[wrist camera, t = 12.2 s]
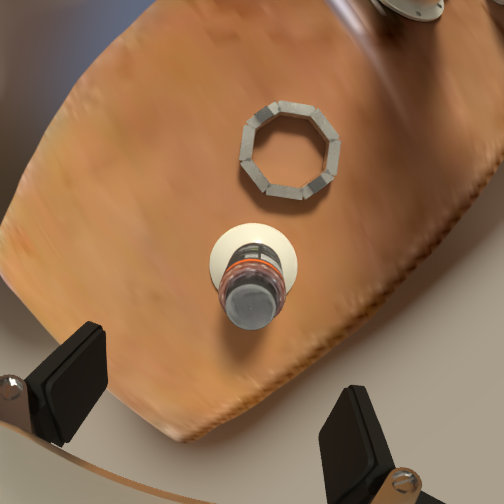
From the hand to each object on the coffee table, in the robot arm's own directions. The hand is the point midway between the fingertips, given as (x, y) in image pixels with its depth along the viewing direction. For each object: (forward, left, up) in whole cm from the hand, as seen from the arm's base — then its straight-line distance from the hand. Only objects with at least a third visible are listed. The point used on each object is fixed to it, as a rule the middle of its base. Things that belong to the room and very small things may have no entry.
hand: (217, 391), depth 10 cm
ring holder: (-10, -6, -24) cm, 27 cm away
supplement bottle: (+1, +2, -24) cm, 24 cm away
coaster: (+1, +2, -24) cm, 25 cm away
